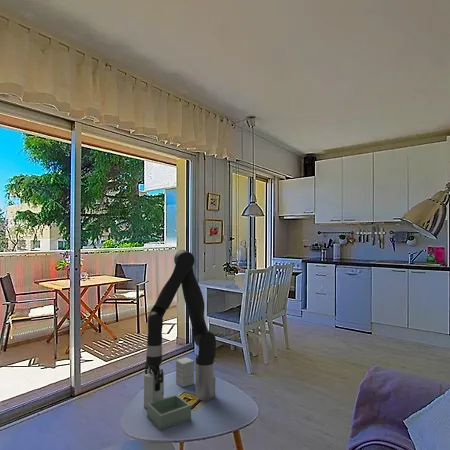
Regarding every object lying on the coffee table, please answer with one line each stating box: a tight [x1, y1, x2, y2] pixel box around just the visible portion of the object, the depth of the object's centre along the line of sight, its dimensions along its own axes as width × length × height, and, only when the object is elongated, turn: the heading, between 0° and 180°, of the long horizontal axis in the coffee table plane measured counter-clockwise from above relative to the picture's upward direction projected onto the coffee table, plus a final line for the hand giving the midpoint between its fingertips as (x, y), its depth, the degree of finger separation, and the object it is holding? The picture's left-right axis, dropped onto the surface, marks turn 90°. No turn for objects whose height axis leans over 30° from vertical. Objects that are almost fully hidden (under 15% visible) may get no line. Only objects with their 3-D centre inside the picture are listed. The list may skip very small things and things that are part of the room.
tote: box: [146, 394, 192, 432], centre depth 154 cm, size 15×13×6 cm
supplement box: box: [175, 357, 195, 388], centre depth 189 cm, size 7×7×13 cm
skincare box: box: [143, 371, 165, 408], centre depth 166 cm, size 8×6×15 cm
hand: (153, 387), depth 166 cm, fingers open, 8 cm apart
